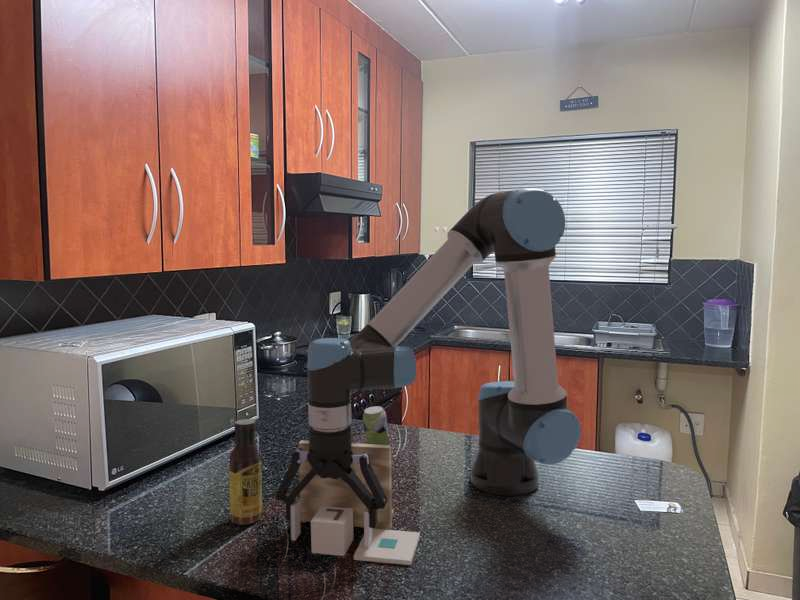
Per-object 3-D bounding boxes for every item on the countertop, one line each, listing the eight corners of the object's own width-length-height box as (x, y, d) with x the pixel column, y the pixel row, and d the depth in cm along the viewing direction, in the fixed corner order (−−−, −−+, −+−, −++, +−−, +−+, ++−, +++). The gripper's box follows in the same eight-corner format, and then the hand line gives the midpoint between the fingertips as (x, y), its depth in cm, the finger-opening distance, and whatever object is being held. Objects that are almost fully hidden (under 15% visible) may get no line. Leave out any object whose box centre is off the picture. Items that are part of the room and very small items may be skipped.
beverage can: (394, 450, 157) (394, 405, 156) (378, 459, 151) (378, 412, 150) (374, 446, 160) (374, 402, 159) (358, 454, 154) (357, 409, 153)
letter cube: (353, 539, 110) (352, 508, 110) (344, 556, 105) (343, 523, 104) (321, 536, 112) (321, 505, 111) (311, 553, 106) (310, 520, 105)
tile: (419, 536, 111) (419, 531, 111) (410, 565, 101) (410, 560, 101) (367, 532, 113) (367, 527, 113) (353, 559, 103) (353, 554, 103)
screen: (396, 514, 120) (395, 437, 118) (390, 529, 114) (389, 448, 112) (311, 508, 123) (309, 432, 122) (300, 522, 117) (298, 443, 116)
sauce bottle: (245, 530, 114) (242, 429, 112) (223, 522, 118) (219, 423, 116) (270, 516, 120) (267, 420, 118) (247, 509, 123) (244, 415, 121)
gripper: (255, 428, 104) (258, 544, 107) (394, 436, 100) (395, 557, 102) (272, 416, 112) (274, 524, 114) (403, 423, 107) (403, 536, 109)
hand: (331, 540), depth 108 cm, fingers open, 13 cm apart
